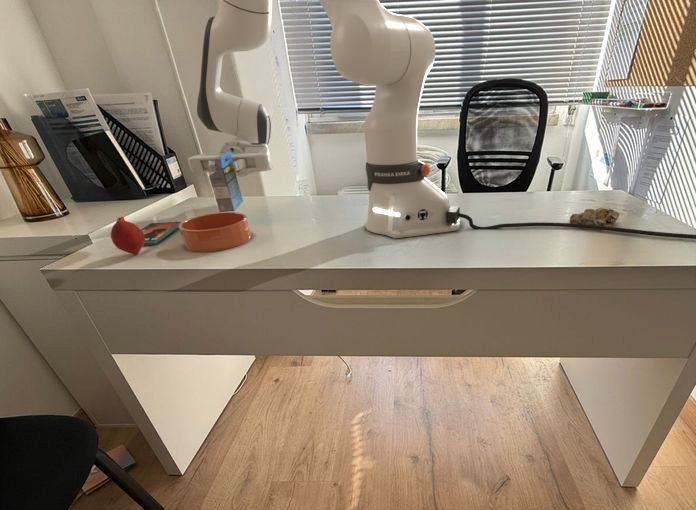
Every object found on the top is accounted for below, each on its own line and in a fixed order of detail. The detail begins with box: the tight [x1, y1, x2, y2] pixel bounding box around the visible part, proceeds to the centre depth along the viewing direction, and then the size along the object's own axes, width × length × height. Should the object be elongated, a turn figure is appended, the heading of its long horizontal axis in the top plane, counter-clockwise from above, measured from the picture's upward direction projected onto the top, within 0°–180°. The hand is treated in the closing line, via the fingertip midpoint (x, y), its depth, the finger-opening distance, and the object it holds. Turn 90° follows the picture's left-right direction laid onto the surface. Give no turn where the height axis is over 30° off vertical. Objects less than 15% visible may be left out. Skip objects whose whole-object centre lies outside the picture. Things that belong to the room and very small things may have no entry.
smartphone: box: [141, 221, 183, 246], centre depth 94 cm, size 8×1×15 cm
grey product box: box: [208, 151, 244, 213], centre depth 95 cm, size 9×4×12 cm, turn 5°
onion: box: [110, 215, 145, 256], centre depth 81 cm, size 6×6×8 cm
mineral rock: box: [569, 207, 620, 227], centre depth 88 cm, size 11×4×8 cm
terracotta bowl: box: [177, 211, 252, 253], centre depth 88 cm, size 14×14×4 cm
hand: (222, 167), depth 94 cm, fingers closed on grey product box, 4 cm apart
